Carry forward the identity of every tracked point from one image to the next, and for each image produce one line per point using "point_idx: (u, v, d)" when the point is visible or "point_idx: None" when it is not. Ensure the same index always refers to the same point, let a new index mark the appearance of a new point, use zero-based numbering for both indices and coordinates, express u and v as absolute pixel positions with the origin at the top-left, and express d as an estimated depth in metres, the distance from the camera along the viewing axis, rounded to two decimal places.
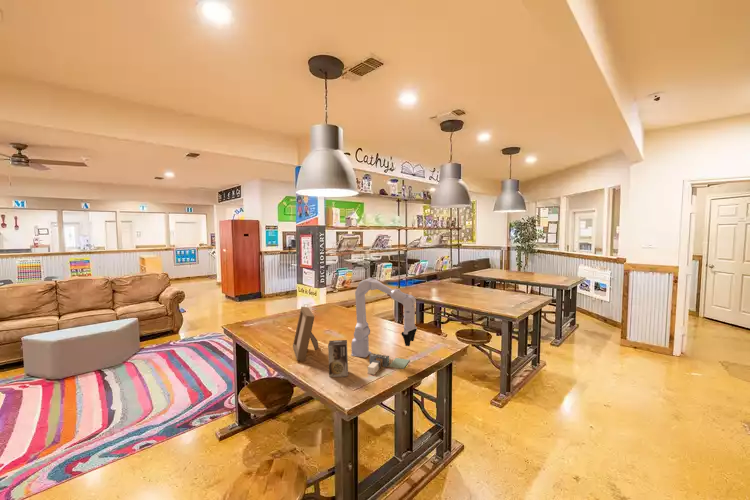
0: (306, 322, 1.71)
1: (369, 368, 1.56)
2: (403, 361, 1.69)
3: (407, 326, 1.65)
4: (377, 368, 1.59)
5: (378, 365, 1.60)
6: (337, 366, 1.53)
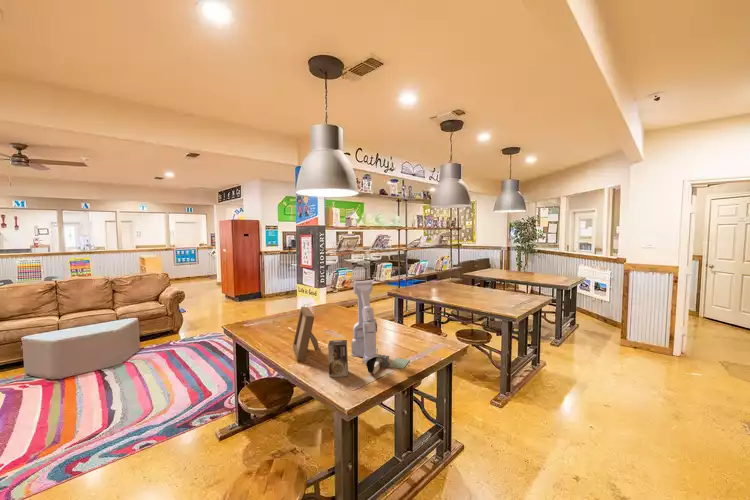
0: (306, 322, 1.71)
1: None
2: (403, 361, 1.69)
3: (367, 354, 1.52)
4: (378, 367, 1.60)
5: (379, 364, 1.61)
6: (337, 366, 1.53)
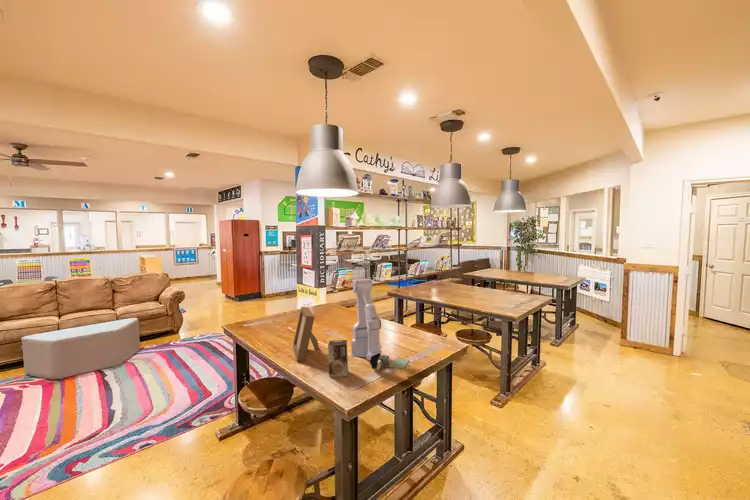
0: (306, 322, 1.71)
1: None
2: (403, 361, 1.69)
3: (371, 350, 1.57)
4: (381, 363, 1.65)
5: None
6: (337, 366, 1.53)
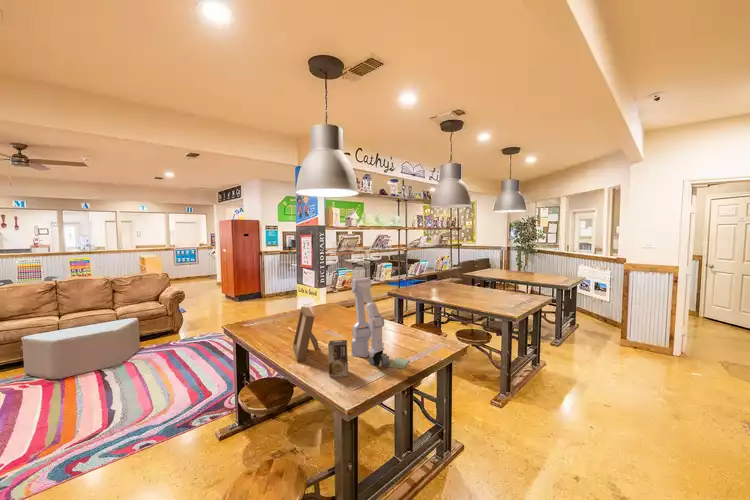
0: (306, 322, 1.71)
1: None
2: (403, 361, 1.69)
3: (374, 348, 1.60)
4: None
5: None
6: (337, 366, 1.53)
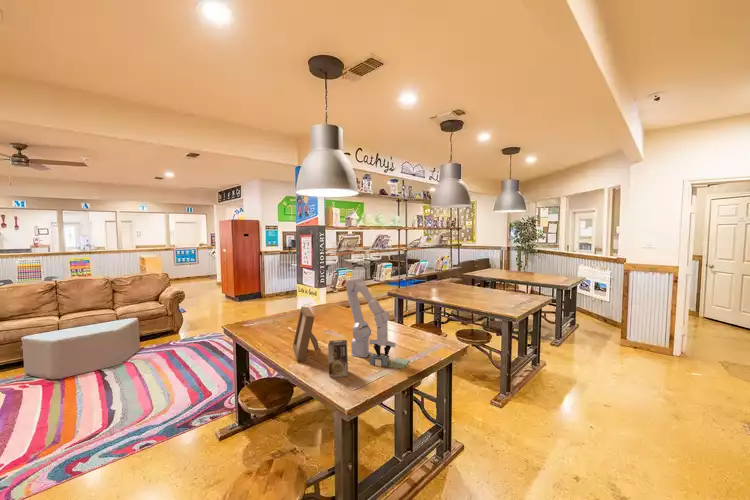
0: (306, 322, 1.71)
1: (376, 360, 1.64)
2: (403, 361, 1.69)
3: None
4: None
5: None
6: (337, 366, 1.53)
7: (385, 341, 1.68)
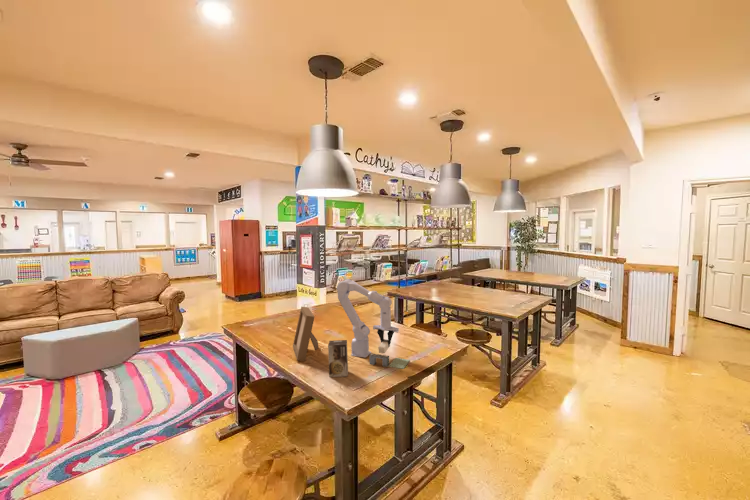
0: (306, 322, 1.71)
1: (380, 348, 1.69)
2: (403, 361, 1.69)
3: None
4: (387, 347, 1.73)
5: (388, 344, 1.74)
6: (337, 366, 1.53)
7: (388, 326, 1.72)
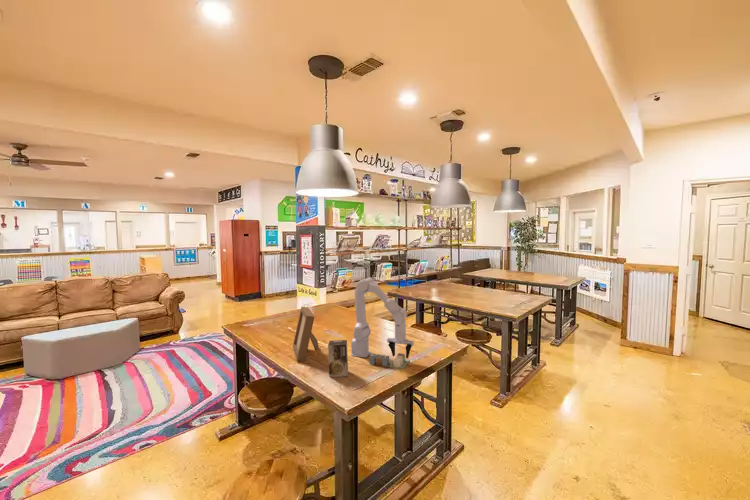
0: (306, 322, 1.71)
1: (395, 361, 1.63)
2: None
3: None
4: (402, 361, 1.66)
5: (403, 358, 1.68)
6: (337, 366, 1.53)
7: (403, 339, 1.66)
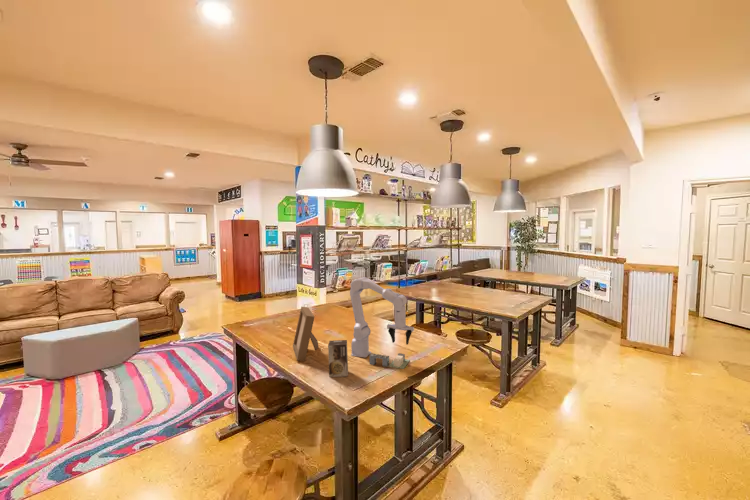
0: (306, 322, 1.71)
1: (395, 361, 1.63)
2: None
3: None
4: (402, 361, 1.66)
5: (403, 358, 1.68)
6: (337, 366, 1.53)
7: (403, 325, 1.65)
